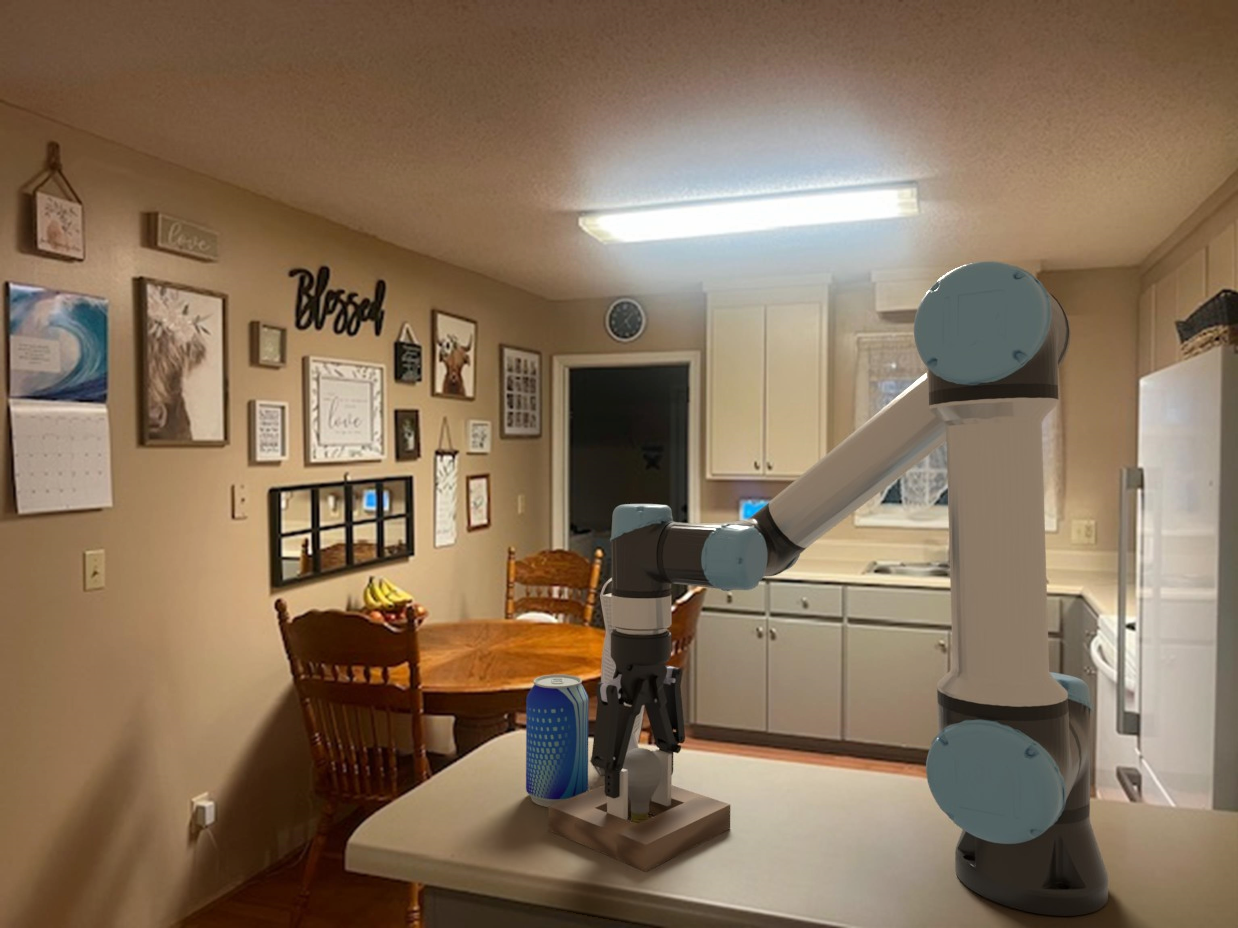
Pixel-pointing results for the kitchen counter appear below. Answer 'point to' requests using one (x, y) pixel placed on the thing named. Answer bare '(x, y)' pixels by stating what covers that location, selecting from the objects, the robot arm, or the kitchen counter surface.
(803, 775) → the kitchen counter surface
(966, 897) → the kitchen counter surface
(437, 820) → the kitchen counter surface
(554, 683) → the beer can
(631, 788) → the light bulb
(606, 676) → the skyscraper
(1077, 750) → the robot arm
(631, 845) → the holder
